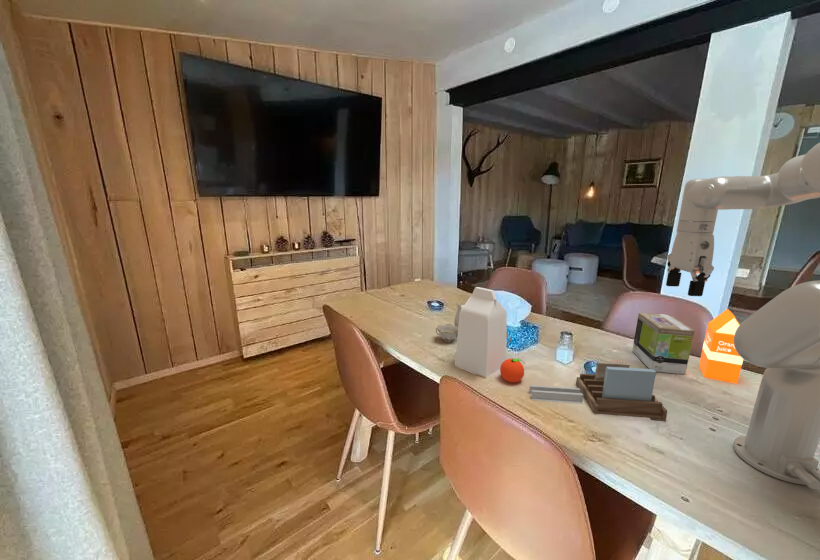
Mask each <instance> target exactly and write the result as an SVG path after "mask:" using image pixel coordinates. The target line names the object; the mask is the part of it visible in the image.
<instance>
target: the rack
mask: <svg viewBox="0 0 820 560" xmlns="http://www.w3.org/2000/svg"><path fill="white" fill-rule="evenodd" d="M630 366H631V365H630V363H629V362H623V361H622V362H621V361H617V362H616V361H605V360H604V361H603V360H602V361H601V360H600V361H599V360H596V366H595V373H579V377H578V376H577V377H576V379H575V380H576V381H575V385H576V386H577V387H576V388H579V389H580V393H582V394H583V399H584V400H585V401H586V403H587V405H588V406H589V408H590V409H591V411H592V412H593V414H594V415H595V414H596V415H609V416H622V417H634V418H636V417H637V418H649V419H650V420H651V421H662V422H663V421H664V422H665V421H666V420H667V416H668V410H667V409H666V407H664V406H663V403H662V402H661V401H660V400H658V399H657V398H656V395H655V394H652V398H651V401H639V400H624V399H610V398H602V392H603V385H604V378H605V371H606V367H622V368H631V367H630Z"/></svg>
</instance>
